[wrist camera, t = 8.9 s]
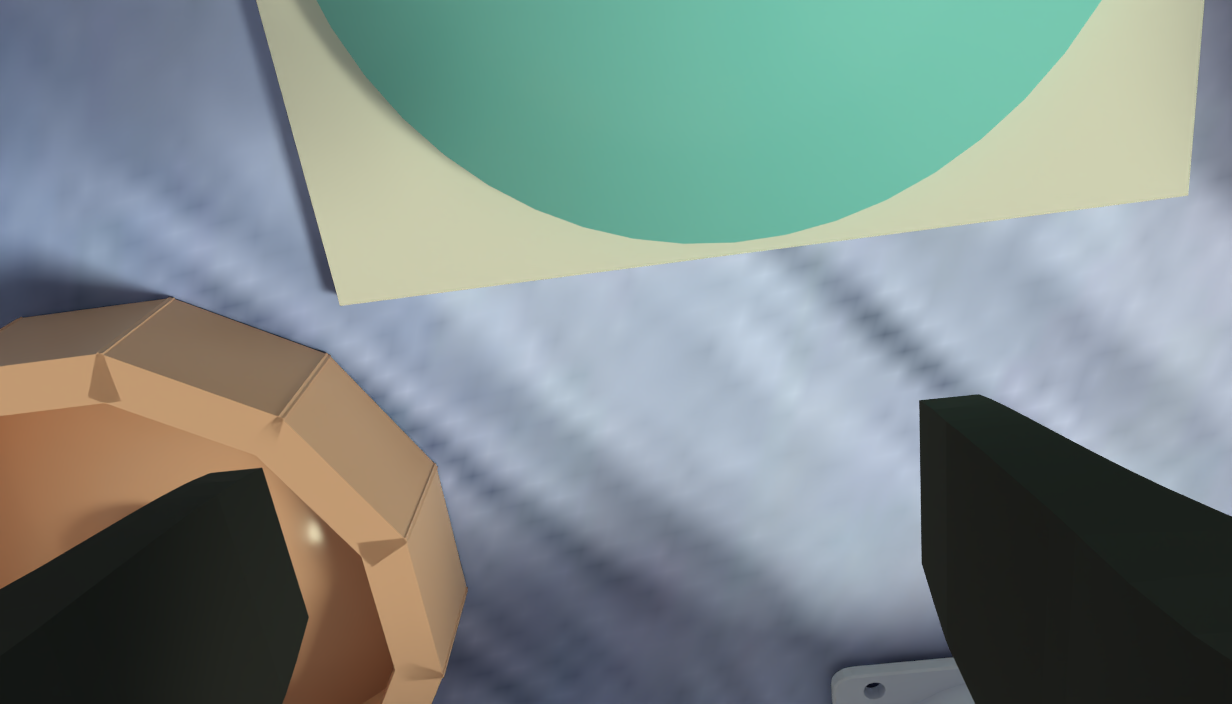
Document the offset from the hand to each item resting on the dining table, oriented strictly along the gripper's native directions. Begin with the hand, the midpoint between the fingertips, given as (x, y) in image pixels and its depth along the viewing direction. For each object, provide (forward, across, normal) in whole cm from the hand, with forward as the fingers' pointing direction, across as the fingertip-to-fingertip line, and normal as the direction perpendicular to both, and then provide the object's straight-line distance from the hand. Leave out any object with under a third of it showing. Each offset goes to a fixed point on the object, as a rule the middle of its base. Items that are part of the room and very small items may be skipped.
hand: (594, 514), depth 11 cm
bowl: (+10, +11, +6) cm, 17 cm away
